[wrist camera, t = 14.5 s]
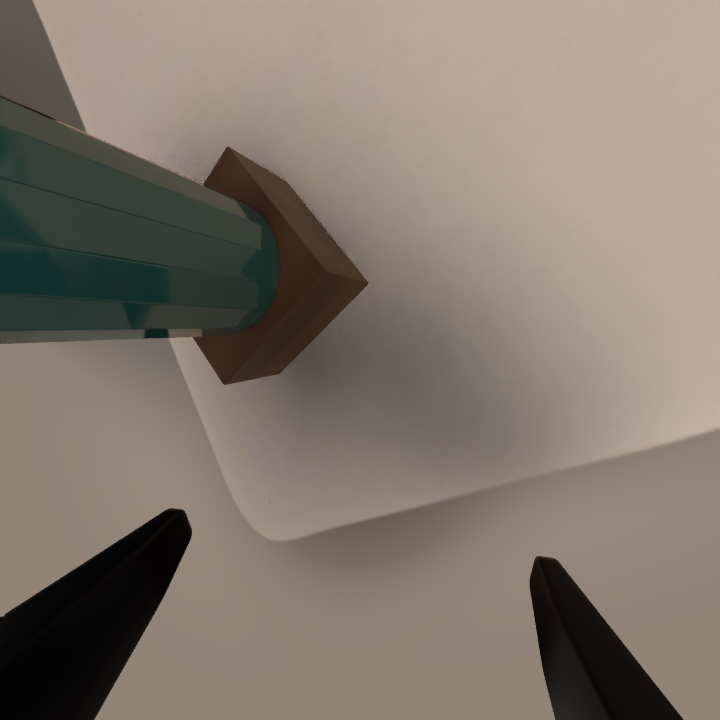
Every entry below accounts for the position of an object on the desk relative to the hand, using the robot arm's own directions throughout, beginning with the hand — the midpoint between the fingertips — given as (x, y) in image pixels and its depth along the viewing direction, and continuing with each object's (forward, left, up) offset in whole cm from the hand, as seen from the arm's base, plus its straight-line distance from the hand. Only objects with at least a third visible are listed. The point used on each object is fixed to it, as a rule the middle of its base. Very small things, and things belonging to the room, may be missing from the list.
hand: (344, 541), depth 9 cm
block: (+7, +12, -12) cm, 18 cm away
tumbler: (+7, +12, -7) cm, 15 cm away
